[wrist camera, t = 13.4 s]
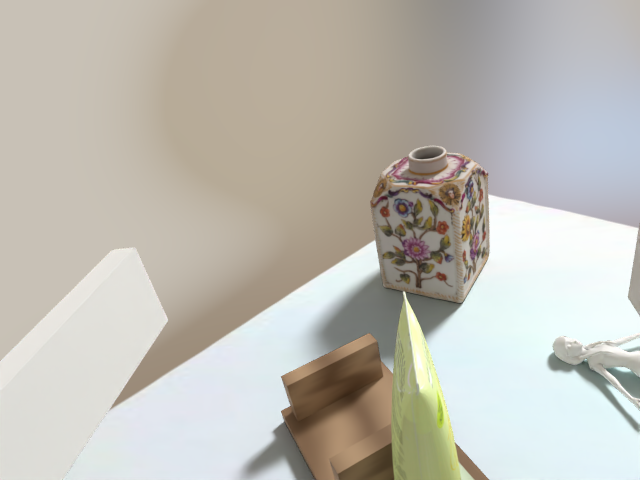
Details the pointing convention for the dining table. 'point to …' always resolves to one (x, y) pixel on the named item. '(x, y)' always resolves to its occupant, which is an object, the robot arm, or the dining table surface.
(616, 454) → the dining table surface
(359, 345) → the wooden letter rack
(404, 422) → the tube
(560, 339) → the woman figurine
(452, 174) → the decorative jar
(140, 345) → the robot arm
